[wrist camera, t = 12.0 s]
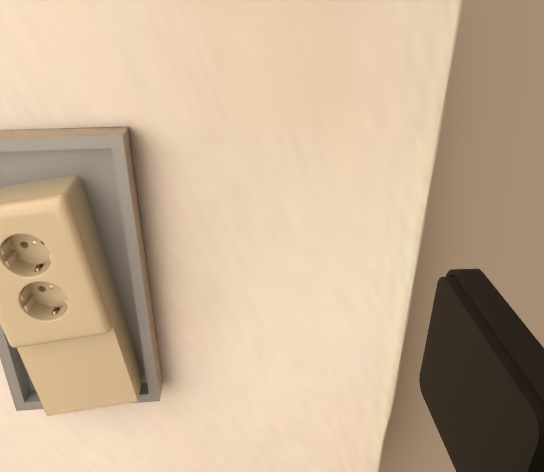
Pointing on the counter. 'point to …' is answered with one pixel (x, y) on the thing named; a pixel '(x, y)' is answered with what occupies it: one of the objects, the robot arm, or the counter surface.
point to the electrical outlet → (63, 299)
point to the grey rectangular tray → (110, 225)
